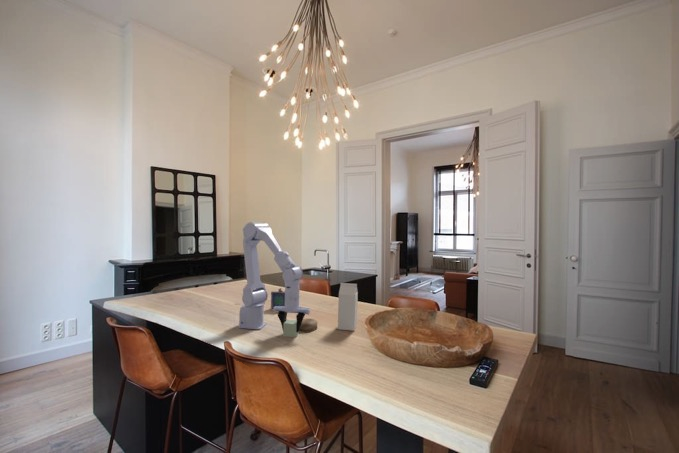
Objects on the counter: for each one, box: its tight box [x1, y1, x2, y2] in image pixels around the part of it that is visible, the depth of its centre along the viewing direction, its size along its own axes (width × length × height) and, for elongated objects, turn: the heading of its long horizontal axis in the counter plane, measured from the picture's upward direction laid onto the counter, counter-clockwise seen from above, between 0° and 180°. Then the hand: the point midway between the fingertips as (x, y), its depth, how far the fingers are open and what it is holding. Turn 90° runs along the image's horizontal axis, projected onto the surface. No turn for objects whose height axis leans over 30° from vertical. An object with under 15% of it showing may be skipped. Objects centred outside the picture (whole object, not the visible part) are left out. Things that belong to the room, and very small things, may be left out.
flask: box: [270, 287, 285, 310], centre depth 158 cm, size 9×3×11 cm, turn 76°
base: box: [299, 318, 318, 332], centre depth 131 cm, size 9×9×2 cm
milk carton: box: [337, 282, 359, 332], centre depth 132 cm, size 7×7×19 cm
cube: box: [282, 319, 300, 338], centre depth 123 cm, size 5×5×5 cm
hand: (291, 330), depth 123 cm, fingers closed on cube, 5 cm apart
